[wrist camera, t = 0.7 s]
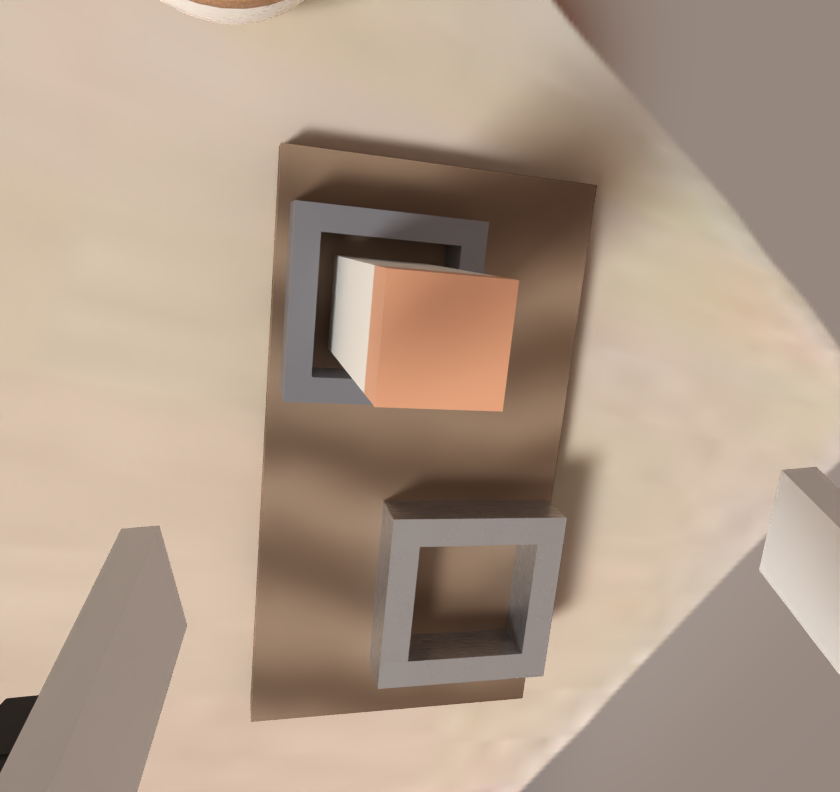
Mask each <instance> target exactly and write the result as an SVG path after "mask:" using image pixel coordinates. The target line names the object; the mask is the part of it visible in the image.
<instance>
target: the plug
mask: <svg viewBox="0 0 840 792" xmlns="http://www.w3.org/2000/svg"><path fill="white" fill-rule="evenodd" d="M518 286H519V280H515V279H510V278H504V277H499V276H493V275H487V274H482V273H476V272H470V271H465V270H459V269H453V268H448V267H442V266H437V265H431V264H425V263H415V262H404V261H394V260H383V259H372V258H362V257H351V256H340V255H334V268H333V282H332V297H331V311H330V325H329V340H328V349H329V350H330V351H331V352H332V354H333V355H334V356H335V357H336V359H337V360H338V361H339V363H340V364H341V365H342V366H343V368H344V369H345V370H346V371H347V373H348V374H349V375H350V376H351V378H352V379H353V380H354V381H355V383H356V384H357V385H358V386H359V388H360V389H361V390H362V392H363V393H364V394H365V395H366V397H367V398H368V399H369V400H370V402H371V403H372V404H373V405H374V407H384V408H413V409H442V410H471V411H501V412H503V405H504V397H505V389H506V381H507V373H508V365H509V357H510V349H511V341H512V334H513V326H514V318H515V310H516V302H517V294H518Z"/></svg>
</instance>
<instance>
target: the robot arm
mask: <svg viewBox="0 0 840 792" xmlns="http://www.w3.org/2000/svg"><path fill="white" fill-rule="evenodd" d="M759 570H760V572H761V573H762V574H763V576H764V577H765V578H766V579H767V581H768V582H769V583H770V585H771V586H772V587H773V589H774V590H775V591H776V592H777V594H778V595H779V596H780V598H781V599H782V600H783V601H784V603H785V604H786V606H787V607H788V608H789V609H790V611H791V612H792V613H793V615H794V616H795V617H796V618H797V620H798V621H799V622H800V624H801V625H802V626H803V628H804V629H805V630H806V632H807V633H808V634H809V636H810V637H811V638H812V639H813V641H814V642H815V643H816V645H817V646H818V647H819V648H820V650H821V651H822V652H823V654H824V655H825V656H826V658H827V659H828V660H829V661H830V663H831V664H832V665H833V667H834V668H835V669H836V671H837V672H838V673H839V675H840V488H839V487H837V486H836V485H835V484H834V483H833V482H832V481H831V480H830V479H829V478H828V477H827V476H825V475H824V474H823V473H822V472H821V471H820V470H819V469H818V468H817V467H809V468H798V469H787V470H781V474H780V478H779V483H778V487H777V492H776V496H775V501H774V505H773V510H772V514H771V519H770V523H769V528H768V533H767V537H766V542H765V546H764V551H763V555H762V560H761V564H760V569H759ZM186 627H187V623H186V619H185V616H184V612H183V609H182V605H181V602H180V598H179V594H178V591H177V587H176V584H175V580H174V576H173V573H172V569H171V566H170V562H169V558H168V555H167V551H166V548H165V544H164V540H163V537H162V533H161V530H160V526H149V527H138V528H127V529H121V531H120V533H119V535H118V537H117V539H116V541H115V543H114V545H113V547H112V549H111V551H110V553H109V555H108V557H107V559H106V561H105V563H104V565H103V567H102V569H101V571H100V573H99V575H98V577H97V579H96V581H95V583H94V585H93V587H92V589H91V591H90V593H89V595H88V597H87V599H86V601H85V603H84V605H83V607H82V609H81V611H80V613H79V615H78V617H77V619H76V621H75V623H74V626H73V628H72V630H71V632H70V634H69V636H68V638H67V640H66V642H65V644H64V646H63V648H62V650H61V652H60V654H59V656H58V658H57V660H56V662H55V664H54V666H53V668H52V670H51V672H50V674H49V676H48V678H47V680H46V682H45V684H44V686H43V688H42V690H41V692H40V694H39V695H37V696H27V697H17V698H7V699H5V700H4V701H3V702H2V703H1V705H0V792H137V790H138V787H139V784H140V780H141V777H142V774H143V770H144V767H145V764H146V760H147V757H148V754H149V750H150V747H151V744H152V740H153V737H154V734H155V730H156V727H157V723H158V720H159V717H160V713H161V710H162V707H163V703H164V700H165V697H166V693H167V690H168V687H169V683H170V680H171V677H172V673H173V670H174V667H175V663H176V660H177V657H178V653H179V650H180V647H181V643H182V640H183V637H184V633H185V630H186Z"/></svg>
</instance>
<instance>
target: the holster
mask: <svg viewBox="0 0 840 792" xmlns="http://www.w3.org/2000/svg"><path fill="white" fill-rule="evenodd" d="M488 228H489V222H484V221H475V220H466V219H458V218H449V217H440V216H431V215H422V214H414V213H405V212H396V211H387V210H378V209H370V208H361V207H352V206H343V205H334V204H325V203H317V202H308V201H299V200H294V201H292V202H290V219H289V237H288V255H287V273H286V291H285V308H284V326H283V344H282V362H281V380H280V392H281V395H282V399H283V402H304V403H332V404H361V405H373V404H372V403H371V402H370V400H369V399H368V398H367V397H366V395H365V394H364V393H363V392H362V390H361V389H360V388H359V386H358V385H357V384H356V383H355V381H354V380H353V379H352V378H351V376H350V375H349V374H348V373H347V371H346V370H345V369H339V368H318V367H312V363H313V348H314V332H315V317H316V302H317V287H318V271H319V256H320V241H321V232H325V233H335V234H345V235H355V236H365V237H374V238H384V239H394V240H404V241H414V242H423V243H433V244H443V245H446V251H445V261H444V267H448V268H453V269H459V270H465V271H470V272H476V273H482V274H483V271H484V263H485V254H486V245H487V237H488Z"/></svg>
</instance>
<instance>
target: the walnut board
mask: <svg viewBox="0 0 840 792" xmlns="http://www.w3.org/2000/svg"><path fill="white" fill-rule="evenodd" d="M596 188H597V185H591V184H584V183H576V182H569V181H561V180H554V179H547V178H539V177H532V176H524V175H517V174H510V173H502V172H495V171H487V170H480V169H472V168H465V167H458V166H450V165H443V164H435V163H428V162H421V161H413V160H406V159H398V158H391V157H384V156H376V155H369V154H361V153H354V152H347V151H339V150H332V149H324V148H317V147H309V146H302V145H295V144H287V143H281V144H280V146H279V162H278V182H277V201H276V220H275V240H274V259H273V278H272V298H271V317H270V336H269V356H268V375H267V394H266V414H265V433H264V452H263V472H262V491H261V510H260V530H259V549H258V568H257V588H256V607H255V626H254V646H253V665H252V684H251V722H255V721H266V720H278V719H289V718H301V717H312V716H324V715H335V714H346V713H358V712H369V711H381V710H392V709H404V708H415V707H427V706H438V705H450V704H461V703H473V702H484V701H496V700H507V699H519V698H522V697H523V690H524V683H525V678H512V679H499V680H486V681H474V682H461V683H448V684H435V685H423V686H410V687H397V688H384V689H377V685H376V682H375V679H374V676H373V673H372V669H371V666H370V663H369V654H370V643H371V632H372V621H373V610H374V599H375V588H376V577H377V566H378V555H379V544H380V533H381V522H382V511H383V501H499V500H547V501H548V502H550V503H551V498H552V491H553V484H554V477H555V470H556V463H557V456H558V450H559V443H560V436H561V429H562V422H563V415H564V408H565V401H566V395H567V388H568V381H569V374H570V367H571V360H572V353H573V346H574V340H575V333H576V326H577V319H578V312H579V305H580V298H581V291H582V285H583V278H584V271H585V264H586V257H587V250H588V243H589V236H590V230H591V223H592V216H593V209H594V202H595V195H596ZM294 200H299V201H308V202H317V203H325V204H334V205H343V206H352V207H361V208H370V209H378V210H387V211H396V212H405V213H414V214H422V215H431V216H440V217H449V218H458V219H466V220H475V221H484V222H489V228H488V237H487V245H486V254H485V263H484V271H483V274H487V275H493V276H499V277H504V278H510V279H515V280H519V286H518V294H517V302H516V310H515V318H514V326H513V334H512V341H511V349H510V357H509V365H508V373H507V381H506V389H505V397H504V405H503V412H501V411H471V410H442V409H413V408H384V407H374V405H361V404H332V403H304V402H283V399H282V395H281V392H280V380H281V362H282V344H283V326H284V308H285V291H286V273H287V255H288V237H289V219H290V202H292V201H294ZM445 251H446V245H443V244H433V243H423V242H414V241H404V240H394V239H384V238H374V237H365V236H355V235H345V234H335V233H325V232H321V241H320V256H319V271H318V287H317V302H316V317H315V332H314V348H313V363H312V367H318V368H339V369H344V368H343V366H342V365H341V364H340V363H339V361H338V360H337V359H336V357H335V356H334V355H333V354H332V352H331V351H330V350H329V349H328V340H329V325H330V311H331V297H332V282H333V268H334V255H340V256H351V257H362V258H372V259H383V260H394V261H404V262H415V263H425V264H431V265H437V266H442V267H444V261H445ZM516 546H517V545H488V546H442V547H420V551H419V561H418V570H417V580H416V590H415V599H414V609H413V618H412V628H411V634H428V633H445V632H463V631H480V630H498V629H505V627H506V619H507V612H508V605H509V597H510V590H511V583H512V575H513V568H514V561H515V553H516Z"/></svg>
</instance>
